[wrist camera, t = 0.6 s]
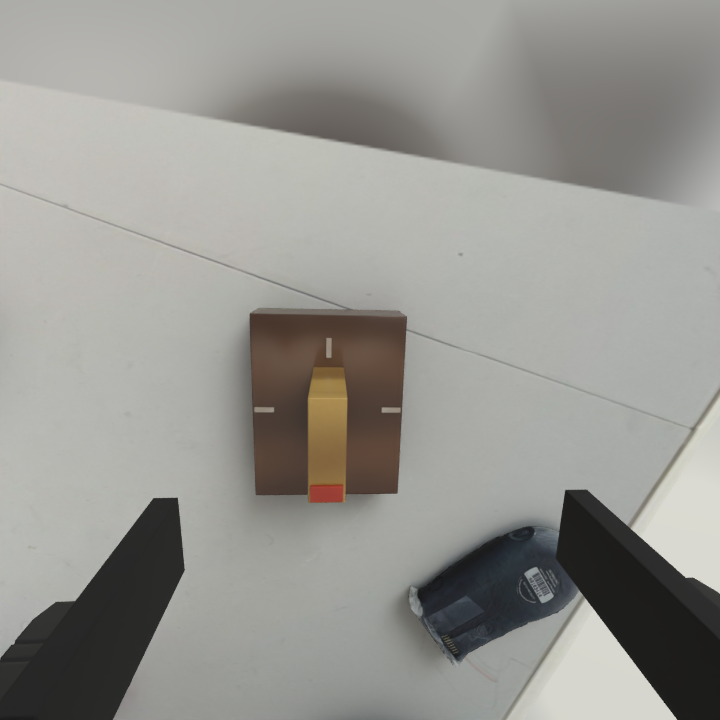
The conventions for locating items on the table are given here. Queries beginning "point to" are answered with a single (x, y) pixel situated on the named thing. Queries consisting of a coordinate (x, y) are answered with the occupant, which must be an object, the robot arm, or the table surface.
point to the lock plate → (292, 383)
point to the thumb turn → (327, 435)
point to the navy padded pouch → (494, 591)
